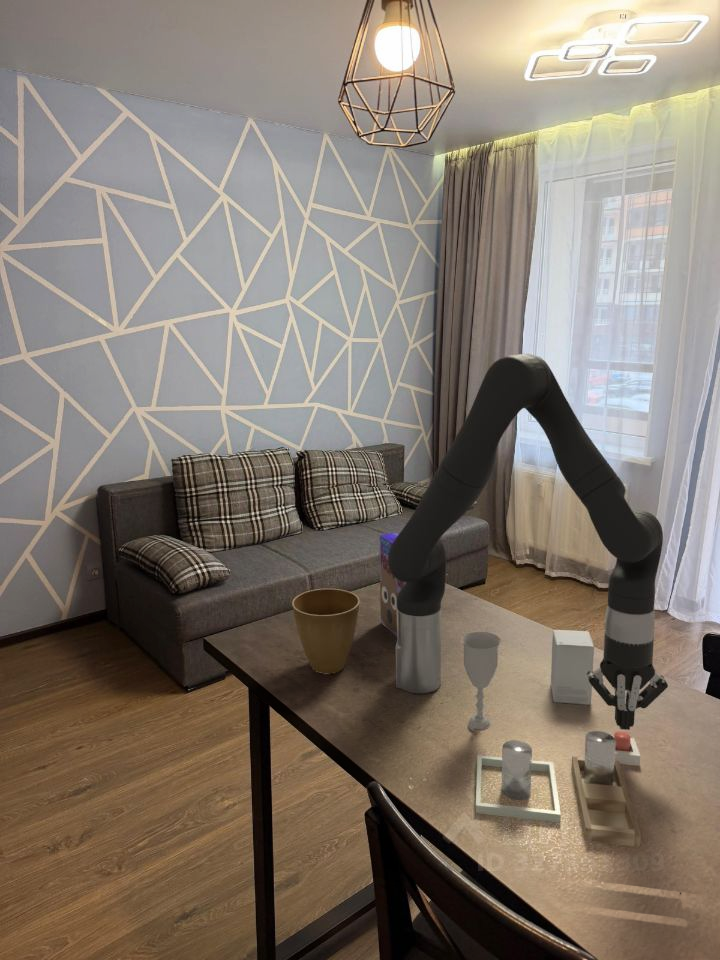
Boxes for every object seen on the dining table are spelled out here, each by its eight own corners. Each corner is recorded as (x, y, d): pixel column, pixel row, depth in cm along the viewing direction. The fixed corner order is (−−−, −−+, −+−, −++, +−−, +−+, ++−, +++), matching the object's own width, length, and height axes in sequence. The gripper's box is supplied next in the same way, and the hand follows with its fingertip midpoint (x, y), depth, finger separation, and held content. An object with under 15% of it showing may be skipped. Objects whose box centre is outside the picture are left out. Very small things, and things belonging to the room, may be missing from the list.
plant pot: (283, 677, 144) (279, 609, 140) (313, 647, 157) (310, 585, 154) (345, 689, 138) (343, 618, 135) (371, 657, 152) (369, 592, 148)
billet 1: (501, 801, 103) (502, 756, 101) (501, 782, 107) (502, 739, 105) (531, 804, 102) (532, 759, 100) (529, 785, 106) (531, 741, 104)
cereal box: (380, 623, 170) (379, 534, 165) (397, 619, 172) (395, 532, 167) (414, 650, 154) (413, 554, 149) (431, 646, 156) (431, 550, 151)
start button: (614, 752, 111) (615, 739, 110) (612, 743, 113) (612, 730, 113) (631, 753, 110) (631, 741, 110) (628, 744, 113) (628, 732, 112)
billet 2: (585, 791, 103) (587, 746, 102) (581, 773, 108) (583, 729, 106) (615, 794, 103) (618, 749, 101) (610, 776, 107) (612, 732, 105)
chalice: (475, 743, 118) (476, 652, 115) (453, 725, 124) (453, 637, 120) (506, 732, 122) (508, 642, 118) (484, 714, 127) (485, 628, 124)
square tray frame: (475, 819, 100) (475, 805, 99) (477, 768, 112) (477, 755, 111) (560, 829, 97) (560, 814, 97) (552, 775, 109) (553, 762, 109)
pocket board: (584, 847, 94) (585, 828, 93) (571, 773, 110) (572, 756, 109) (639, 853, 92) (641, 834, 92) (617, 777, 108) (618, 760, 108)
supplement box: (591, 705, 129) (594, 646, 127) (553, 702, 131) (555, 644, 128) (586, 686, 137) (589, 630, 134) (550, 683, 138) (552, 628, 135)
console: (607, 768, 111) (608, 753, 110) (603, 750, 115) (603, 735, 115) (639, 771, 110) (640, 755, 109) (633, 753, 114) (634, 738, 114)
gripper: (590, 639, 105) (586, 736, 109) (678, 644, 102) (671, 743, 106) (583, 620, 112) (580, 712, 116) (666, 624, 110) (660, 717, 113)
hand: (624, 726), depth 111 cm, fingers closed
